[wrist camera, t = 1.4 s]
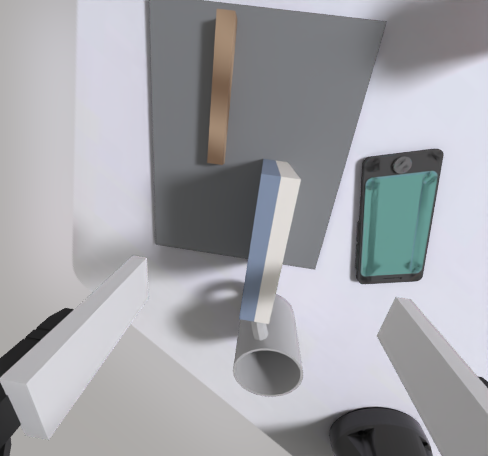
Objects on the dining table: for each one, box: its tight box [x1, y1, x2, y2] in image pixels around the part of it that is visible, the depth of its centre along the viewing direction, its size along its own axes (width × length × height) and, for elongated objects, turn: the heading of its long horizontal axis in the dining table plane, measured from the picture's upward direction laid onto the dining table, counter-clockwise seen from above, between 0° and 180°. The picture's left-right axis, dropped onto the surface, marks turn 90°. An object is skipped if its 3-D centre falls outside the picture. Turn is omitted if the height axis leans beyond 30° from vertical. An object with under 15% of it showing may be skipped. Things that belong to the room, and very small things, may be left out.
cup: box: [233, 294, 303, 397], centre depth 27 cm, size 7×10×9 cm
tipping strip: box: [207, 9, 237, 165], centre depth 21 cm, size 12×2×2 cm, turn 173°
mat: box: [149, 0, 387, 269], centre depth 24 cm, size 24×20×1 cm
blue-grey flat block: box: [239, 159, 301, 324], centre depth 21 cm, size 12×2×10 cm, turn 173°
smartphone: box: [355, 149, 443, 284], centre depth 25 cm, size 7×1×15 cm
